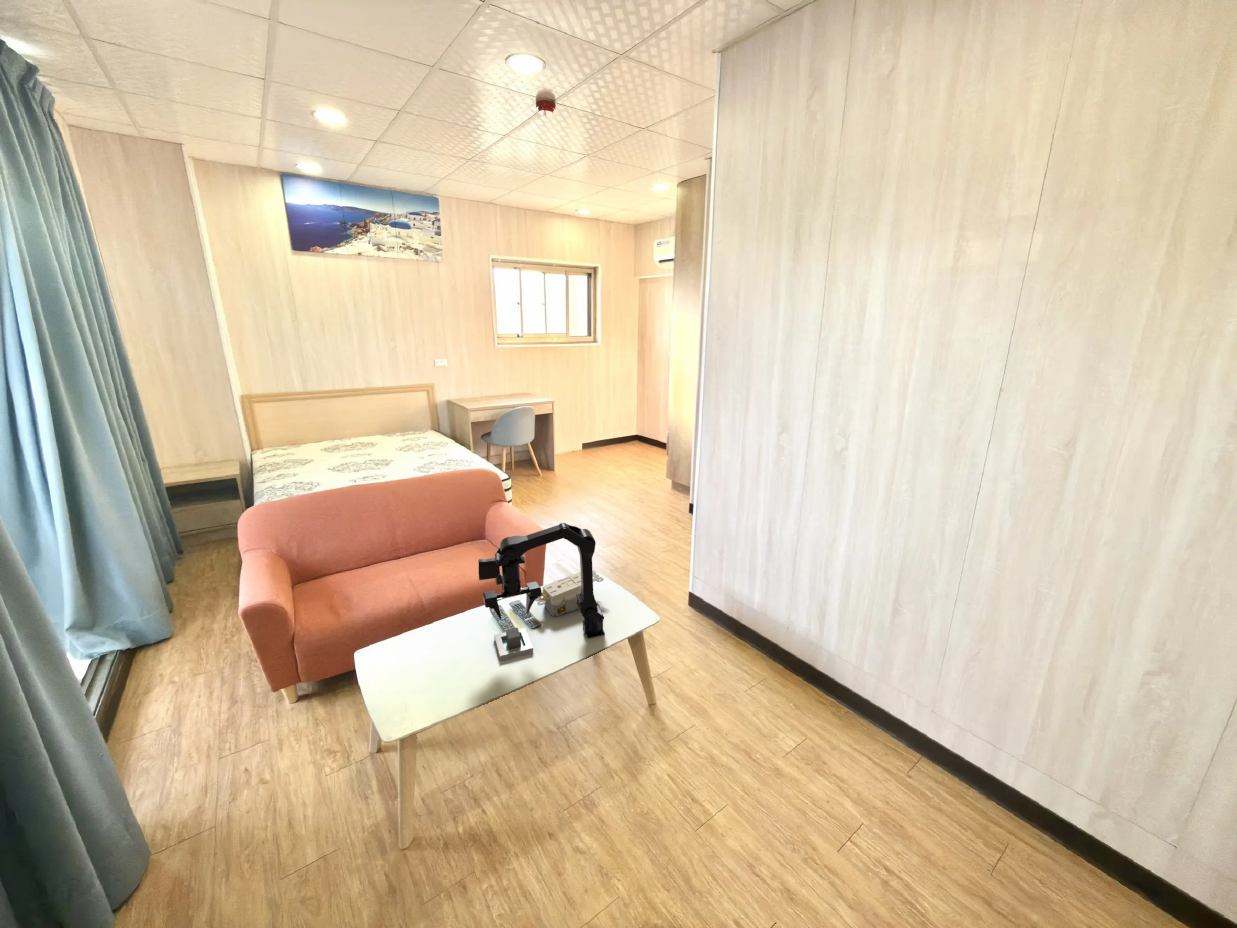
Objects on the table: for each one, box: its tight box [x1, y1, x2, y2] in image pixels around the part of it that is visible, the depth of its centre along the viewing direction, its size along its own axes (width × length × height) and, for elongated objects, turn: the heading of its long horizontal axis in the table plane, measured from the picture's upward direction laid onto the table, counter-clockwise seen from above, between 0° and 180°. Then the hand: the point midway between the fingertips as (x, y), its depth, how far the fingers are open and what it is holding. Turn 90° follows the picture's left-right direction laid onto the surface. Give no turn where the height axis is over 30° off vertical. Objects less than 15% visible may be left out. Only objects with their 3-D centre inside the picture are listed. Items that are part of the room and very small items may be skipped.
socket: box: [493, 627, 534, 662], centre depth 166 cm, size 11×12×2 cm
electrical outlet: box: [534, 570, 604, 618], centre depth 190 cm, size 12×28×10 cm, turn 123°
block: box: [505, 627, 521, 650], centre depth 166 cm, size 4×5×5 cm
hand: (513, 615), depth 164 cm, fingers open, 9 cm apart
